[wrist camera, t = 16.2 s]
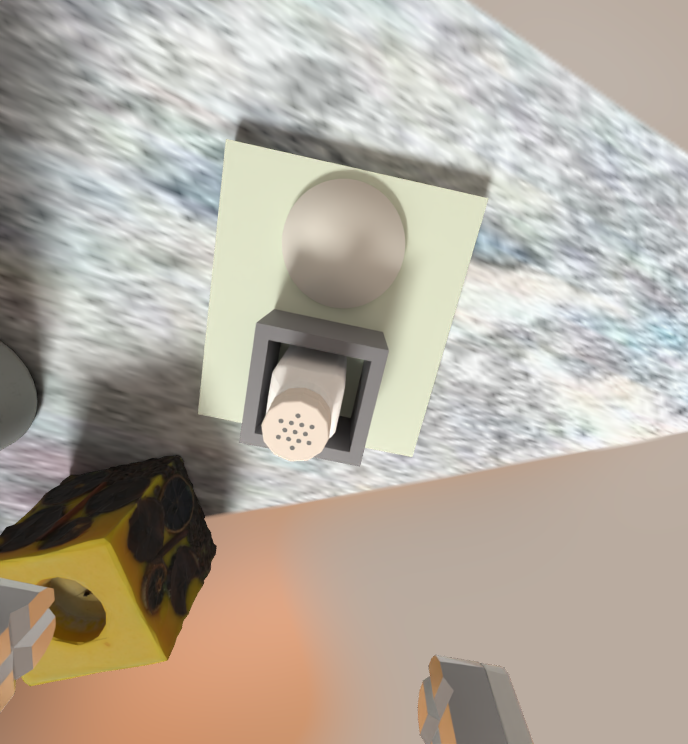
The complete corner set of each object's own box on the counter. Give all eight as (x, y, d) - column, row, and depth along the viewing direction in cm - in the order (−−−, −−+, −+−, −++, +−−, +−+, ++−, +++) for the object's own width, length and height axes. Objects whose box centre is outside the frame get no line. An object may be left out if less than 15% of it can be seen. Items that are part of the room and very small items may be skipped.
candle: (114, 571, 35) (25, 690, 26) (65, 474, 32) (-56, 569, 23) (222, 551, 34) (170, 668, 25) (181, 450, 31) (105, 538, 22)
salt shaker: (337, 402, 28) (329, 476, 19) (282, 391, 28) (247, 461, 19) (348, 349, 27) (345, 401, 18) (290, 337, 27) (258, 383, 18)
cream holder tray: (233, 145, 25) (192, 111, 18) (480, 201, 25) (521, 185, 19) (205, 406, 30) (166, 447, 24) (409, 447, 31) (423, 497, 24)
